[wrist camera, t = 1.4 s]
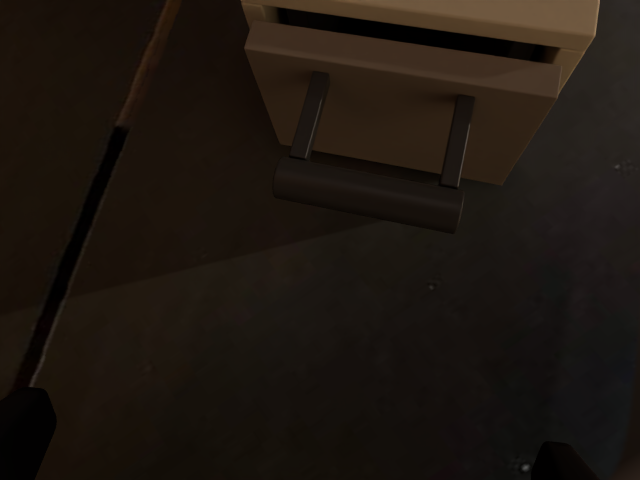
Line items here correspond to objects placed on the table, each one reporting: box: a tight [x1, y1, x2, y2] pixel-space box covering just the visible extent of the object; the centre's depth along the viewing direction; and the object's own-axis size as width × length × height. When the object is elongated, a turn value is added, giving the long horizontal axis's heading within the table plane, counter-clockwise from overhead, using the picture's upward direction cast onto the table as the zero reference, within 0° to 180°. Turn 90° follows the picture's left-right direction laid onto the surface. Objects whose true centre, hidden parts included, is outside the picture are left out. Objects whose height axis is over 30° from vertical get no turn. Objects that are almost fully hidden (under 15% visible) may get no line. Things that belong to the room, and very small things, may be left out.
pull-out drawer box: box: [244, 8, 562, 234], centre depth 21 cm, size 17×10×7 cm, turn 166°
